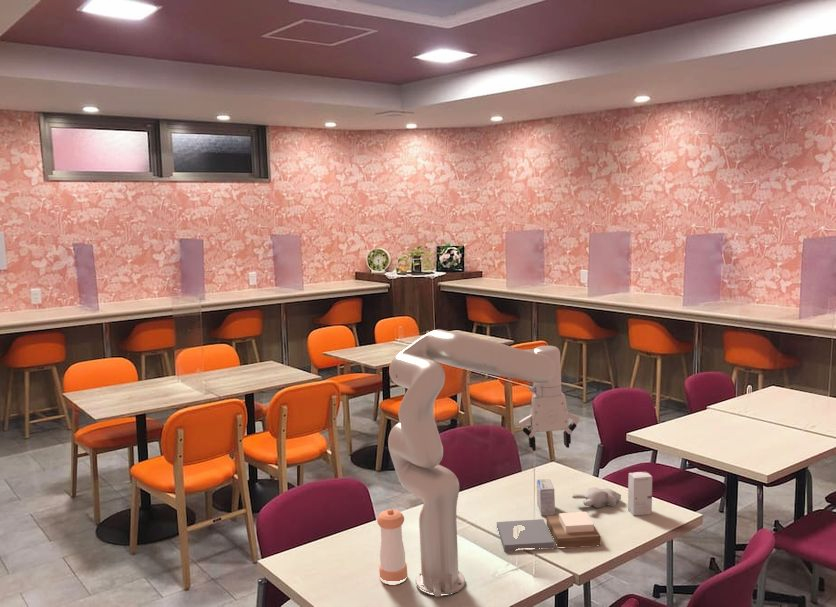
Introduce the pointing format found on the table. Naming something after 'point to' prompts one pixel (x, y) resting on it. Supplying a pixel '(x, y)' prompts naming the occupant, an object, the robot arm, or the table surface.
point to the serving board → (571, 535)
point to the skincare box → (640, 493)
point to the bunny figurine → (599, 497)
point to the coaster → (576, 522)
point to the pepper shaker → (392, 546)
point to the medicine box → (545, 497)
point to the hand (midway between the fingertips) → (549, 447)
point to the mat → (525, 535)
